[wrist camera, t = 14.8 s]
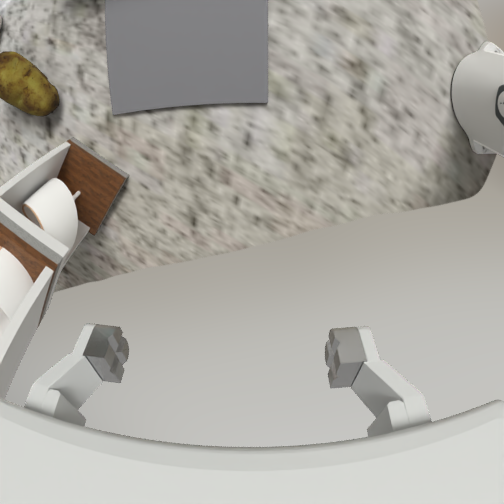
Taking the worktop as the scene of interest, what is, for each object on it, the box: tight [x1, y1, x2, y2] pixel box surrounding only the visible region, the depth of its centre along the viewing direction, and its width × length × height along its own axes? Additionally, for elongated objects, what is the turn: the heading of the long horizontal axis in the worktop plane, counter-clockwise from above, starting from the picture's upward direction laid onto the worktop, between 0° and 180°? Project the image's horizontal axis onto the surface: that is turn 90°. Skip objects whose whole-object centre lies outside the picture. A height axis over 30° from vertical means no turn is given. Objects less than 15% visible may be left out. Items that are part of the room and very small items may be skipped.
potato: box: [0, 52, 59, 116], centre depth 26 cm, size 8×13×8 cm, turn 19°
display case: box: [0, 137, 129, 400], centre depth 26 cm, size 11×11×35 cm
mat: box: [105, 0, 268, 115], centre depth 28 cm, size 20×20×1 cm
